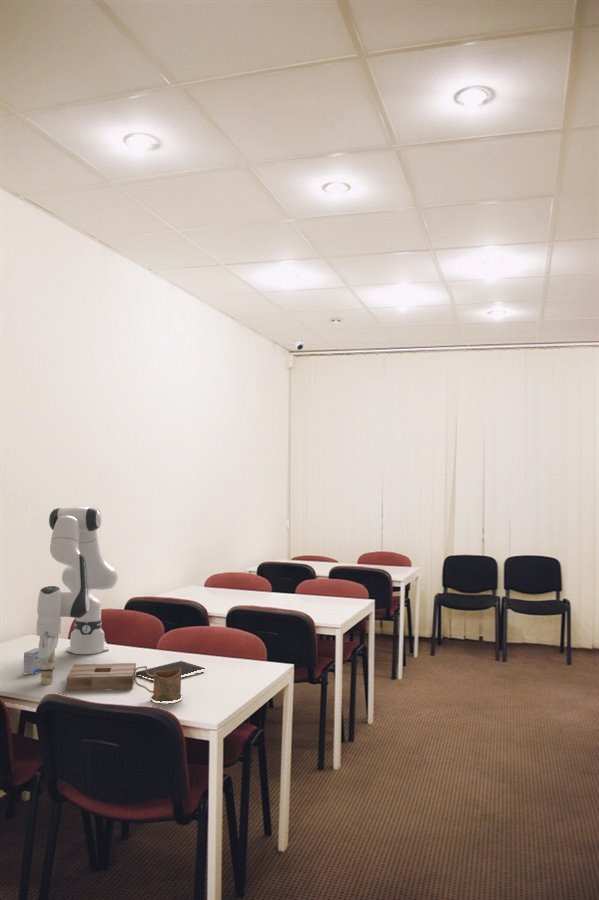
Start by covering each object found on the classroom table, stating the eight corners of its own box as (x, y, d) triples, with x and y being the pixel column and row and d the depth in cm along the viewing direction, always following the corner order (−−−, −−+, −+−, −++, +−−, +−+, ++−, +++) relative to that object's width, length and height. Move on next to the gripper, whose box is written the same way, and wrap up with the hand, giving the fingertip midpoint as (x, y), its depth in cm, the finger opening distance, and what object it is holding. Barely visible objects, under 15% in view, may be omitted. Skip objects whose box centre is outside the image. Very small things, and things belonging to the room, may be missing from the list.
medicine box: (32, 675, 277) (33, 653, 277) (22, 674, 278) (23, 652, 278) (44, 669, 285) (44, 648, 285) (34, 668, 286) (35, 647, 286)
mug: (133, 695, 254) (134, 662, 255) (181, 693, 258) (182, 660, 259) (133, 706, 243) (134, 671, 243) (183, 703, 247) (184, 669, 247)
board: (73, 677, 275) (74, 664, 276) (135, 675, 279) (135, 662, 280) (66, 691, 258) (66, 677, 258) (132, 689, 262) (132, 675, 262)
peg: (41, 681, 269) (42, 650, 269) (53, 681, 270) (54, 650, 270) (39, 684, 264) (40, 653, 265) (51, 684, 265) (52, 652, 266)
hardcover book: (205, 673, 286) (205, 668, 286) (160, 685, 269) (160, 679, 269) (179, 665, 297) (180, 660, 297) (135, 677, 279) (135, 671, 279)
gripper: (52, 635, 258) (50, 673, 257) (61, 623, 278) (60, 658, 278) (34, 635, 257) (33, 673, 256) (45, 624, 277) (43, 658, 277)
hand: (47, 665), depth 267 cm, fingers open, 8 cm apart
